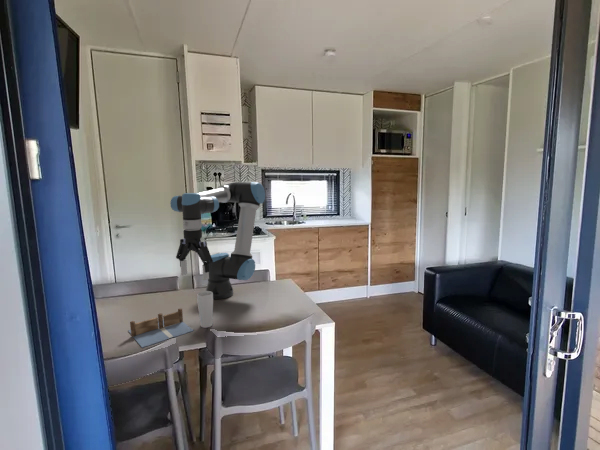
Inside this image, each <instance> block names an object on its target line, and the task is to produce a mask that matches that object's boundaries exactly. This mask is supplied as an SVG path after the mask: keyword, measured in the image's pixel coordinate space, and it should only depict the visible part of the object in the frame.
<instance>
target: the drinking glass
mask: <svg viewBox="0 0 600 450" xmlns="http://www.w3.org/2000/svg"><path fill="white" fill-rule="evenodd" d="M196 296H197V297H196V301H197V309H198V315H199V316H198V317H199V324H200V327H201V328H203V329H204V328H205V329H207V328H210V327H212V326H213V323H214V322H213V321H214V319H213V317H214V299H213V292H211V291H206V290H203V291H200V292H198V293H197V294H196Z"/></svg>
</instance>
